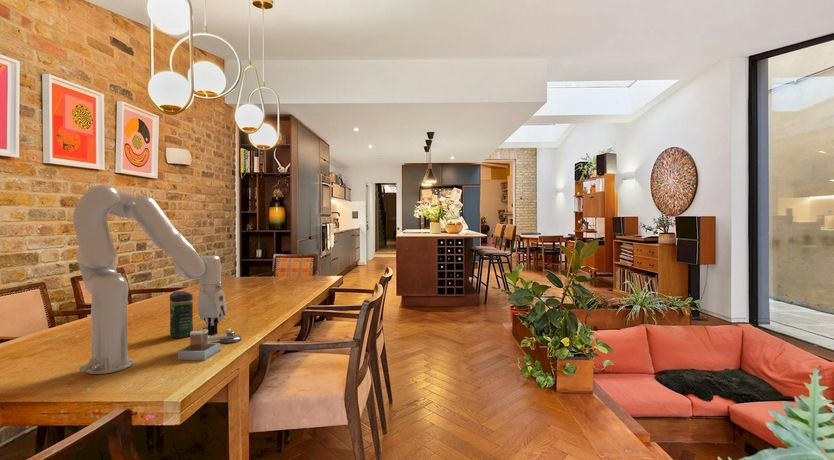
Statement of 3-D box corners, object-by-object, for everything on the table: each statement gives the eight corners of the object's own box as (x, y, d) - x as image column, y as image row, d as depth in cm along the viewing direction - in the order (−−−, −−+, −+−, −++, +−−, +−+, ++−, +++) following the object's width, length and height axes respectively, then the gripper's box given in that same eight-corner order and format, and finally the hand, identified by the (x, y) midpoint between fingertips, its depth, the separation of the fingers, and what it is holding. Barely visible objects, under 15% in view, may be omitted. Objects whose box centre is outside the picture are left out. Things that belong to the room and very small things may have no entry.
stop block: (201, 355, 147) (201, 332, 146) (190, 354, 147) (190, 332, 147) (208, 351, 151) (207, 329, 150) (197, 351, 151) (197, 329, 151)
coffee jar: (195, 336, 173) (195, 291, 172) (174, 339, 167) (173, 294, 166) (188, 331, 180) (188, 288, 179) (168, 334, 174) (167, 291, 173)
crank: (234, 335, 169) (234, 321, 169) (235, 337, 166) (235, 323, 166) (202, 339, 163) (202, 325, 163) (203, 342, 160) (203, 327, 159)
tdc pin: (228, 336, 171) (228, 330, 171) (224, 336, 171) (224, 330, 171) (231, 335, 173) (231, 328, 173) (226, 335, 173) (226, 328, 173)
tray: (204, 360, 144) (204, 351, 144) (177, 359, 144) (177, 351, 144) (220, 351, 153) (220, 343, 153) (194, 350, 154) (194, 342, 154)
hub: (235, 343, 162) (235, 340, 162) (215, 343, 163) (215, 340, 163) (245, 337, 170) (245, 334, 170) (226, 337, 171) (226, 334, 171)
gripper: (233, 286, 160) (235, 333, 161) (203, 285, 165) (205, 330, 166) (218, 290, 153) (220, 339, 154) (187, 288, 158) (189, 336, 159)
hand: (212, 334), depth 160 cm, fingers closed
